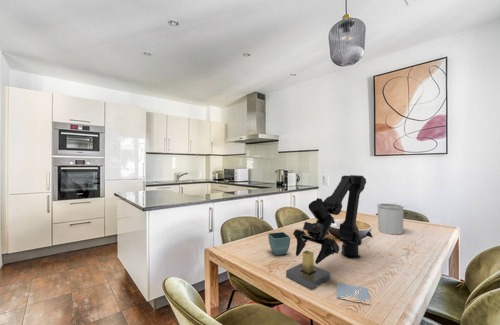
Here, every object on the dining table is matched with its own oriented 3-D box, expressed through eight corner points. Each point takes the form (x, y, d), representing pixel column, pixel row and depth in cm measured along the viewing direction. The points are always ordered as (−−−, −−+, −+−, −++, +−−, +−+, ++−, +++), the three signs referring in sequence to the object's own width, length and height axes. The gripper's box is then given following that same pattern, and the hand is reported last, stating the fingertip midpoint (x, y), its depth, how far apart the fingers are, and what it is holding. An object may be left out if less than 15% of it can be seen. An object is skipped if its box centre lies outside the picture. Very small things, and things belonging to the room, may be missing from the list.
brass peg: (307, 275, 92) (307, 250, 92) (313, 278, 89) (313, 252, 89) (302, 277, 90) (302, 252, 90) (308, 280, 87) (308, 254, 87)
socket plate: (305, 267, 98) (305, 262, 98) (330, 278, 89) (330, 272, 89) (286, 276, 90) (286, 270, 90) (311, 289, 81) (311, 282, 81)
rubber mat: (337, 283, 85) (337, 282, 85) (367, 289, 81) (367, 288, 81) (336, 298, 76) (336, 297, 76) (370, 305, 72) (370, 304, 72)
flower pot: (273, 257, 108) (273, 238, 108) (267, 250, 117) (267, 233, 117) (290, 255, 111) (290, 237, 111) (283, 248, 119) (283, 231, 119)
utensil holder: (372, 229, 153) (372, 203, 153) (386, 227, 159) (386, 201, 159) (393, 236, 139) (394, 207, 139) (408, 233, 146) (408, 205, 145)
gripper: (295, 210, 99) (278, 241, 92) (335, 218, 85) (318, 256, 78) (307, 225, 104) (291, 255, 97) (346, 235, 90) (330, 272, 83)
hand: (305, 259), depth 89 cm, fingers open, 9 cm apart
